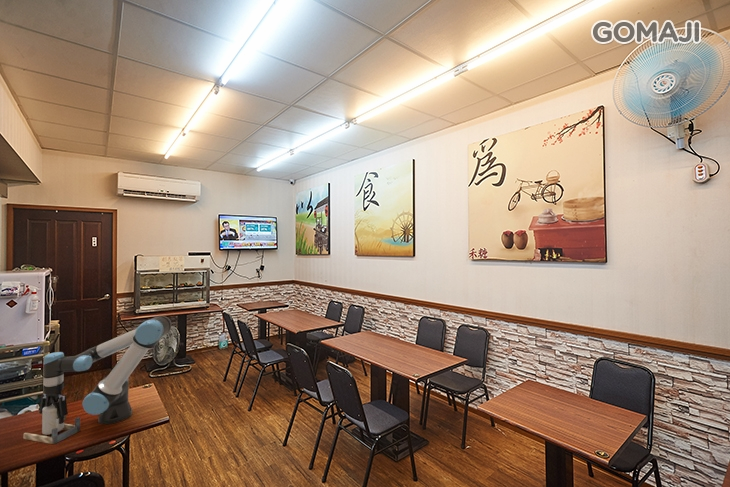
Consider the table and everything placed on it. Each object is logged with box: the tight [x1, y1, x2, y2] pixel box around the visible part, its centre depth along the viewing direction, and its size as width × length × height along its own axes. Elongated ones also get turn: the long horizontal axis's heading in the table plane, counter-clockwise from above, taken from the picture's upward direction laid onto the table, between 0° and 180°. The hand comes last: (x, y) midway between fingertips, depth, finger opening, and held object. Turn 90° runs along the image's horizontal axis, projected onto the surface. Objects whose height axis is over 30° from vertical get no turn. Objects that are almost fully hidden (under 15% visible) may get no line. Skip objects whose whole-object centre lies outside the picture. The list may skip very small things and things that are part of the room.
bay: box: [22, 416, 81, 445], centre depth 169 cm, size 20×12×7 cm, turn 77°
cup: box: [41, 404, 63, 436], centre depth 169 cm, size 8×8×12 cm
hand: (53, 428), depth 169 cm, fingers closed on cup, 8 cm apart
